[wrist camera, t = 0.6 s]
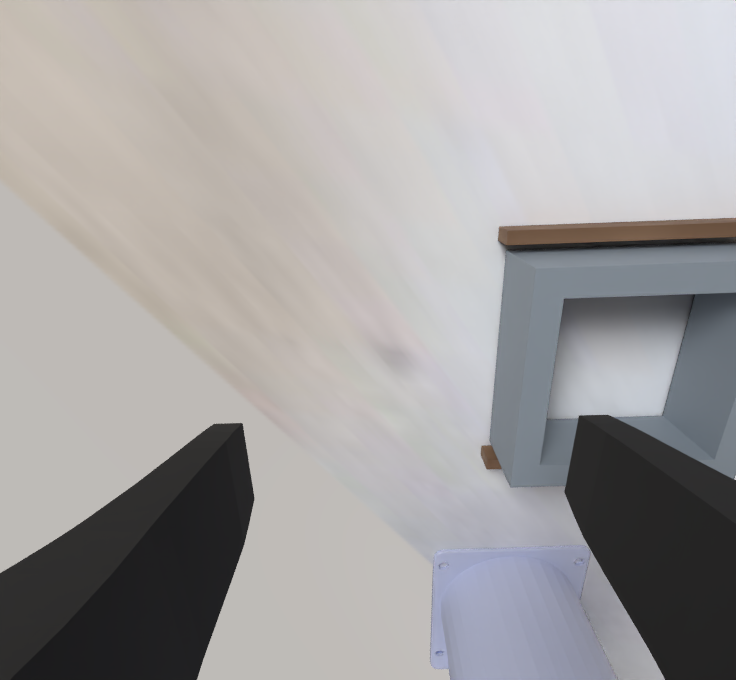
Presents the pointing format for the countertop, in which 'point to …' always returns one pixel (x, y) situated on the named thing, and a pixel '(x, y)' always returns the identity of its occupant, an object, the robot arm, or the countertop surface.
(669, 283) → the socket block
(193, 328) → the countertop surface
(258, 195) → the countertop surface
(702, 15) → the countertop surface
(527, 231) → the wall
